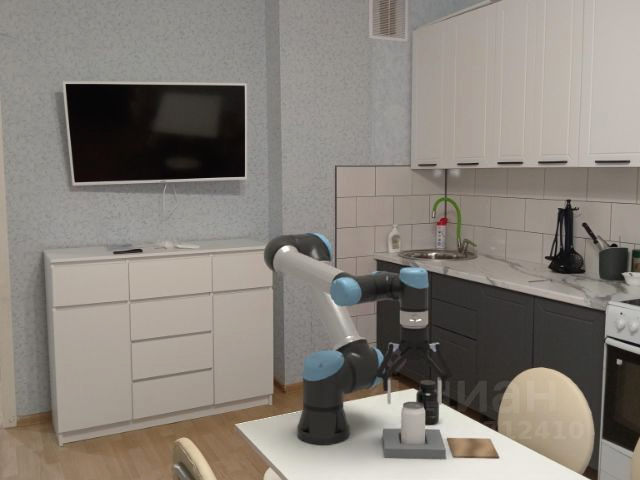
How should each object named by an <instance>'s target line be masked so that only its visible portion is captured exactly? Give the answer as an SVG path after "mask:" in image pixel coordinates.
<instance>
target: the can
mask: <svg viewBox="0 0 640 480" xmlns="http://www.w3.org/2000/svg"><path fill="white" fill-rule="evenodd" d="M400 418H401V419H400V425H401V426H400V429H401V442H400V444H426V442H425V429H426V425H425V409H424V405H423V404H422V403H419V402H416V401H406V402H403V403H402V407H401V411H400Z"/></svg>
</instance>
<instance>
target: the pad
mask: <svg viewBox="0 0 640 480" xmlns="http://www.w3.org/2000/svg"><path fill="white" fill-rule="evenodd" d="M446 442H447V444H448V446H449V450H450V453H451V456H452V458H455V459H457V458H458V459H459V458H460V459H461V458H462V459H465V458H466V459H467V458H468V459H500V456H499V454H498V451H497V450H496V447H495V445H494V444H493V441H492V440H491V438H487V437H486V438H484V437H483V438H481V437H480V438H479V437H478V438H477V437H447V438H446Z"/></svg>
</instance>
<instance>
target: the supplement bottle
mask: <svg viewBox="0 0 640 480" xmlns="http://www.w3.org/2000/svg"><path fill="white" fill-rule="evenodd" d="M415 399H416V400H415V402H419V403H422V404H423V405H424V409H425V426H426V425H427V426H431V425H432V426H433V425H436V424H438V423H439V421H440V404H438V390H437V383H436V382H435V381H433V380H429V379H428V380H427V379H425V380H421V381H419V390H417V392H416V395H415Z"/></svg>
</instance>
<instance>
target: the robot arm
mask: <svg viewBox="0 0 640 480" xmlns="http://www.w3.org/2000/svg"><path fill="white" fill-rule="evenodd" d="M332 253H333V248H332V245H331V242H330V241H329V240H328V238H327V237H326V236H325V235H323V234H321V233H314V232H313V233H312V232H305V233H299V234H282V235H280V234H279V235H278V236H275V237H273V238H272V239H270V240H269V241H268V242H267V244H266V245H265V247H264V251H263V260H264V263H265V265H266V266H267V268H268V269H269V270H270V271H271V272H273V273H275V274H277V275H278V276H279V275H280V276H281V277H286V276H287V277H288V276H289V277H291V278H294V279H296V280H298V281H300V282H302V283H304V284H305V286H306V287H307V290H308V292H309V295H310V296H311V299H312V302H313V304H314V306H315V308H316V311H317V313H318V315H319V317H320V320H321V322H322V324H323V327H324V328H325V331H326V333H327V335H328V338H329V340H330V342H331V344H332V347H333V349H331V350H330V349H329V350H320V351H319V350H318V351H316V352H313V353H311V354H309V355H308V356H306V357H305V358H304V360H303V362H302V373H301V375H302V411H301V413H300V418H299V420H298V424H297V427H296V429H297V430H296V431H297V432H296V434H297V438H299V439H300V441H303V442H305V443H308V444H314V445H333V444H338V443H341V442H344V441H345V440H347V439H348V438H349V437H350V435H351V434H350V433H351V431H350V424H349V421H348V418H347V415H346V412H345V408H344V400H345V399H344V396H345V395H349V394H353V393H355V392H360V391H363V390H369V389H371V388H374V387H376V386H378V385H379V384H380V383H381V382H383V383H382V387H383V388H382V389H383V391H384V392H386V394H387V404H388V405H392V404H391V403H392V402H391V400H392V399H391V397H392V394H391V392H392V391H391V390H392V389H391V388H392V387H391V386H392V385H391V381H392V380H391V376H392V374H393V373H394V372H395V371H396V370H397V369H398V368H399V367H400V365H401V364H402V363H404V361H405V360H408V361H422V360H424V361H425V362H426V363H427V364H428V365H429V366H430V368H431V369H432V370H433V372H434V373H436V374H437V376H438V377H437V392H438V404H439V405H443V404H442V398H443V397H442V392H445V391H446V380H447V379H451V378H453V373H452V372H451V369H450V366H449V365H448V363H447V362H446V359H445V357H444V355H443V353H442V351H441V345H440V342H438V341H436V342H434V343H429V327H428V326H427V325H428V324H429V285H430V284H429V275H428V271H427V270H426V268H423V267H403V268H401V269H400V271H399V273H395V272H388V271H385V270H384V271H383V270H381V271H380V270H379V271H378V270H377V271H373V272H371V273H370V274H364V275H363V274H362V275H353V274H351V273H348V272H346V271H344V270H342V269H339V268H336V267H334V266H332V261H333V256H334V255H333V254H332ZM385 300H386V301H387V300H388V301H395V302H399V324H400V326H399V343H393V342H392V341H390V342H388V347H387V350H386V353H385V355H383V354H382V351H381V350H380V349H378V348H376V347H374V346H370V344H369V342H368V340H367V338H366V337H362V336H360V335H359V332H358V330H357V328H356V326H355V323H354V322H353V319H352V317H351V315H350V313H349V310H348V308H347V307H353V306H357V305H361V304H366V303H367V304H368V303H373V302H380V301H385ZM397 349H398V350H399V351H400V354H398V356H397V358H396V359H395V360H394V362H393V363H392V364H391V365H390V366H389V367H388V368H387V365H388V363H389V362H390V359H391V357H392V355H393V353H395V352H396V350H397ZM430 349H431V350H432V351H433V352H434V353H436V356H437V357H438V359H439V362H440V363H441V365H442V367H443V369H444V371H445V372H443V371H442V370H441V369H440V367H438V365H437V364H436V363H435V362H434V360H433V359H432V358H431V357H430V356H429V355H428V352H429V351H430ZM386 368H387V369H386Z"/></svg>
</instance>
